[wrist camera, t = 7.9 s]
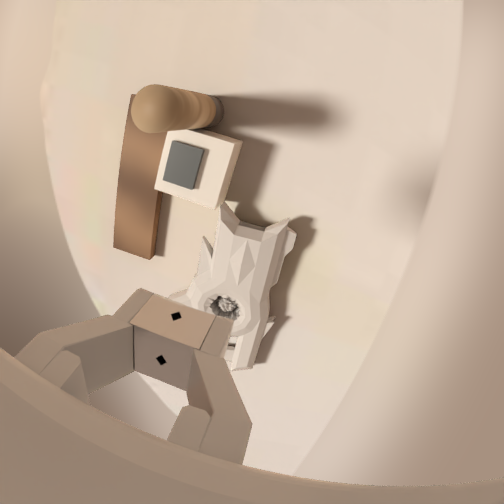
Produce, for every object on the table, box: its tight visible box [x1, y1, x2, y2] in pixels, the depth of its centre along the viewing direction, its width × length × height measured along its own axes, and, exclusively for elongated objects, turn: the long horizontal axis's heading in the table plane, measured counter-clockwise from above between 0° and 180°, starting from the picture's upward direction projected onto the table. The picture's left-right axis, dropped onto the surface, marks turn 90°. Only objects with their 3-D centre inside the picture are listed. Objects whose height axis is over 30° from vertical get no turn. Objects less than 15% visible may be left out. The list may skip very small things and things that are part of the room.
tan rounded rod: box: [131, 84, 224, 133], centre depth 18 cm, size 3×3×9 cm
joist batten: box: [113, 94, 168, 260], centre depth 25 cm, size 14×4×1 cm, turn 166°
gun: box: [168, 201, 297, 371], centre depth 28 cm, size 18×4×10 cm
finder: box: [154, 128, 243, 210], centre depth 23 cm, size 5×5×3 cm
